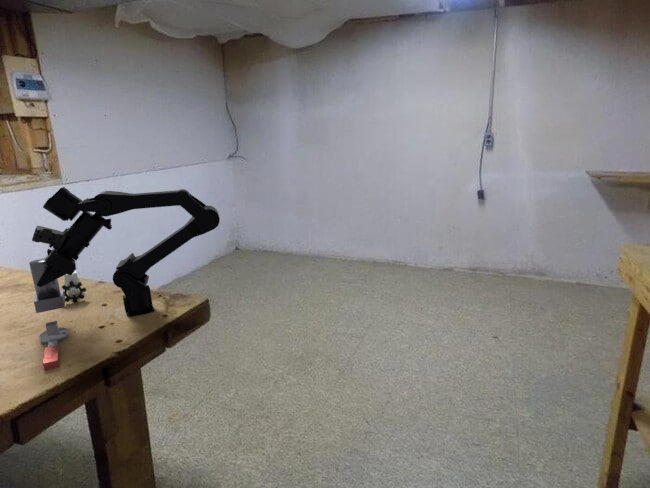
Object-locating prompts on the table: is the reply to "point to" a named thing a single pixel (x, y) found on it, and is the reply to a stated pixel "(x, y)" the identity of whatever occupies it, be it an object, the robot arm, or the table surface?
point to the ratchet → (52, 344)
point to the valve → (72, 287)
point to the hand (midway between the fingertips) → (39, 282)
